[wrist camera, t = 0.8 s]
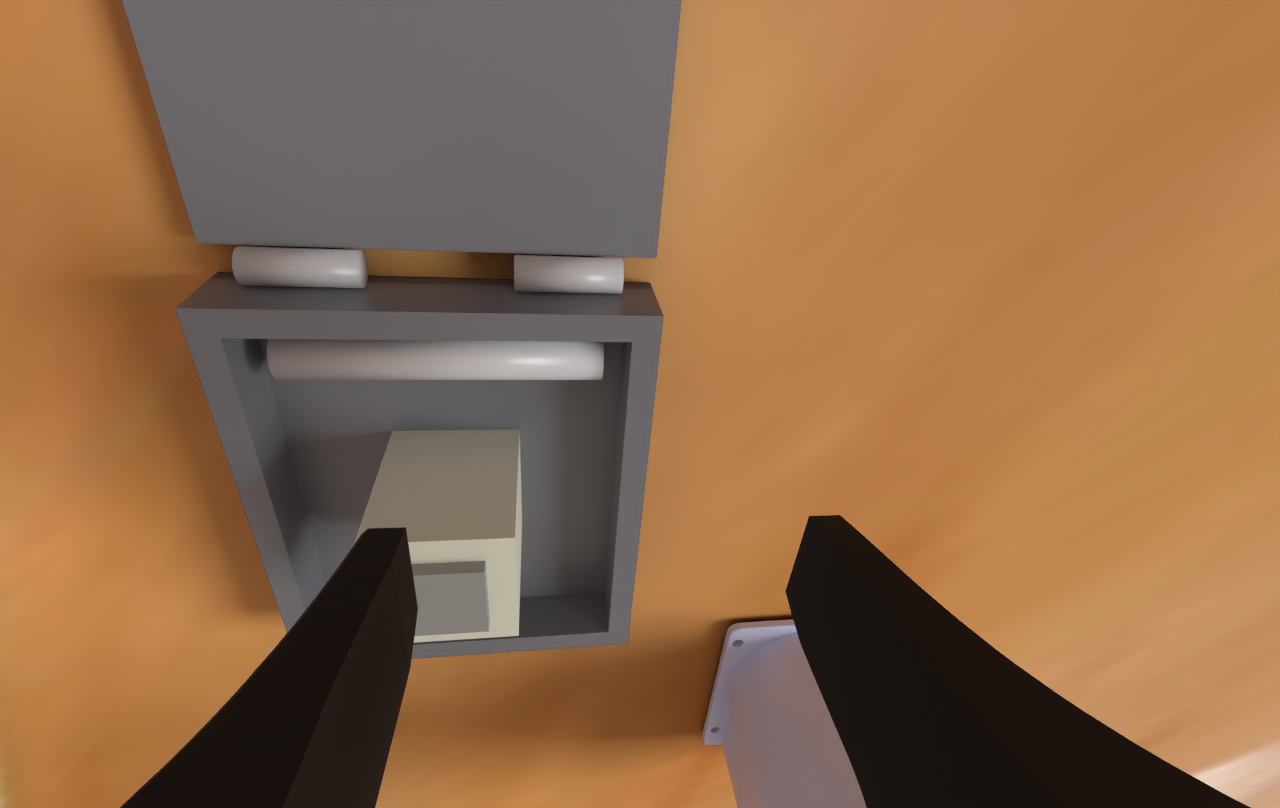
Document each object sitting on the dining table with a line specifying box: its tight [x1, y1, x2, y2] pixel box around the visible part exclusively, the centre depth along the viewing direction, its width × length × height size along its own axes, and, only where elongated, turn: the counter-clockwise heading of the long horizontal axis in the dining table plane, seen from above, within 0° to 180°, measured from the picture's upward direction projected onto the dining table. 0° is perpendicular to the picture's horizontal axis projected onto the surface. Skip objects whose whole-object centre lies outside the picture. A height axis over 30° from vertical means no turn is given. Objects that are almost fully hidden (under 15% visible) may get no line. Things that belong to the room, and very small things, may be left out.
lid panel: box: [122, 0, 681, 294], centre depth 14 cm, size 11×12×1 cm
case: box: [175, 272, 663, 659], centre depth 21 cm, size 14×12×2 cm
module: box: [354, 429, 522, 643], centre depth 19 cm, size 4×4×5 cm
